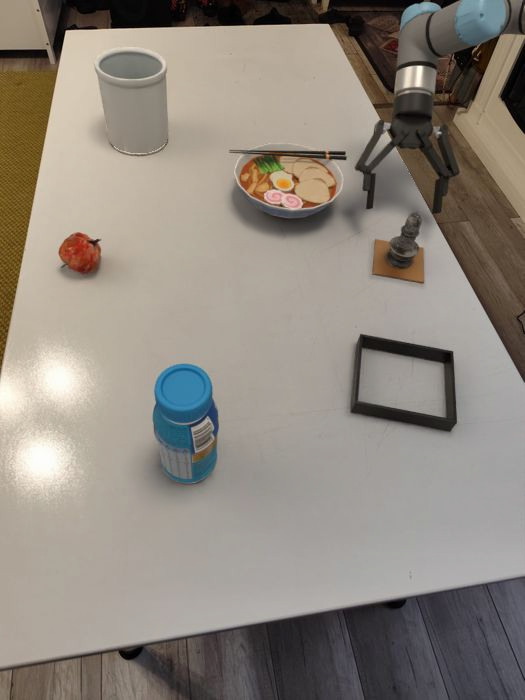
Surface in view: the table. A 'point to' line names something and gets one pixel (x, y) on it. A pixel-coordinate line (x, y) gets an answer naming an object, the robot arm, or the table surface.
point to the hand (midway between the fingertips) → (403, 211)
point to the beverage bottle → (186, 423)
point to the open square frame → (400, 414)
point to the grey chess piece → (405, 243)
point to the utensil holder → (134, 98)
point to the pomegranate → (80, 253)
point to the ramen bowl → (289, 178)
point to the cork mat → (386, 270)
